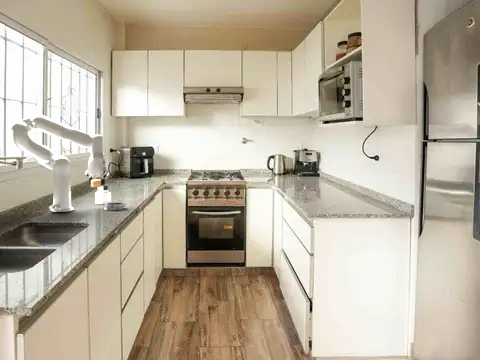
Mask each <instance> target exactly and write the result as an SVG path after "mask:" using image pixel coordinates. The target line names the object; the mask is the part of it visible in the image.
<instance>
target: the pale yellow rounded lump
mask: <svg viewBox="0 0 480 360" xmlns="http://www.w3.org/2000/svg"><path fill="white" fill-rule="evenodd" d="M101 179H102V178H101ZM101 179H93V180H91V185H90V187H91V188H98V187H103V186H101Z"/></svg>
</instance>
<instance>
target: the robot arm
mask: <svg viewBox="0 0 480 360" xmlns="http://www.w3.org/2000/svg"><path fill="white" fill-rule="evenodd" d="M7 130H8V132H9V135H11V136H12V139H13V141H14V144H15V145H16V147H17V148H18V149H19V150H21V151H22V152H23V153H25V154H27V155H29V156H30V157H31V158H32V159H33V160H34V161H35V162H37V163H39V164H40V165H42V166H43V167H45V168H47V169H49V170H51V171H52V196H53V198H52V199H53V200H52V201H53V203H52V205H50V206H48V209H49V210H50V211H51V212H54V213H61V212H62V213H64V212H65V213H66V212H72V211H74V210H75V208H74V207H73V206H72V191H71V171H72V163H71V160H70V159H69V158H68V157H67V156H65V155H59V154H57V153H56V152H55V151H54V152H53V151H52V149H51V148H50V147H48V146H46V145H43V144H42V143H40V142H39V141H37V140H35V139H34V138H32V137H31V136H30V133H33V132H36V131H40V132H42V133H44V134H47V135H50V136H51V137H54V138H57V139H60V140H64V141H68V142H72V143H74V144H75V145H76V146H78V147H80V148H87V149H88V148H89V158H88V163H87V169H86V170H85V171H84V174H85V176H87V178H88V182H89V183H88V184H89V186H91V180H94V178H93V177H94V175H98V176H99V175H100V177H101V186H103V185H106V179H107V178H108V176H109V175H110V171H109V170H108V169H107V165H106V164H107V163H106V158H105V156H106V154H105V153H104V138H103V136H102V135H101V134H91V135H90V134H88V133H86V132H83V131H81V130H78V129H76V128H74V127H71V126H69V125H67V124H64V123H61V122H59V121H57V120H55V119H52V118H50V117H48V116H45V115H43V114H36V115H32V116H29V117H26V118H23V119H19V120H16V121H13V122H11V123H10V124H9V126H8V129H7Z"/></svg>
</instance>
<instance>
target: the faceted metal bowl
mask: <svg viewBox="0 0 480 360" xmlns="http://www.w3.org/2000/svg"><path fill="white" fill-rule="evenodd" d="M103 207H104V208H103V209H104V211H124V210H127V203H126V202H121V201H119V202H116V201H115V202H112V201H111V203H105V204H103Z"/></svg>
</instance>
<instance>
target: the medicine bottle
mask: <svg viewBox="0 0 480 360" xmlns="http://www.w3.org/2000/svg"><path fill="white" fill-rule="evenodd" d="M111 202H112V192H111V191H109V185H108V184H105V185H103V187H97V191H96V192H95V204H98V205H104V204H105V203H111Z"/></svg>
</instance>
